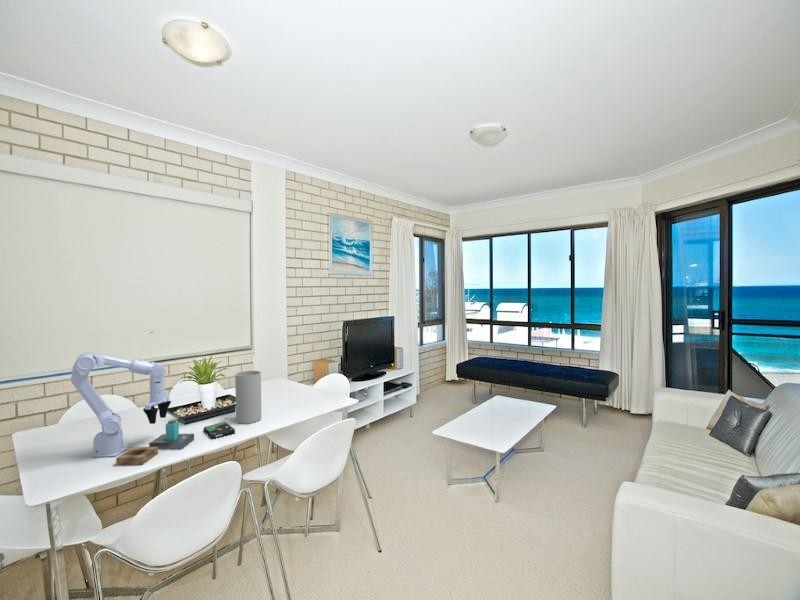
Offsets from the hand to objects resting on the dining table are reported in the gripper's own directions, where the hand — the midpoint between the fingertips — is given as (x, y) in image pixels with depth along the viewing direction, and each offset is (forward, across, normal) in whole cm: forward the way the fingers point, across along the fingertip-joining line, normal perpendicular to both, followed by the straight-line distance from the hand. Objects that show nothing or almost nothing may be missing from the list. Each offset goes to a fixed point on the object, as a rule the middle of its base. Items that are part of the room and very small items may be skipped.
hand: (157, 420), depth 168 cm
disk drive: (+11, +12, -22) cm, 27 cm away
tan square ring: (+10, -16, -2) cm, 19 cm away
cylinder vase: (+10, +28, -30) cm, 42 cm away
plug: (+10, -2, -8) cm, 13 cm away
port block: (+10, -2, -8) cm, 13 cm away
